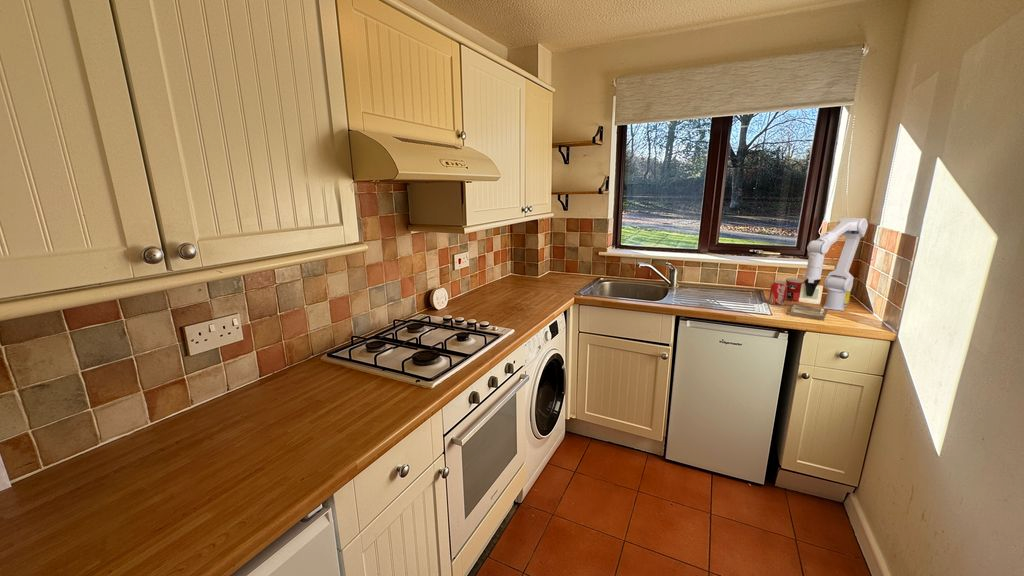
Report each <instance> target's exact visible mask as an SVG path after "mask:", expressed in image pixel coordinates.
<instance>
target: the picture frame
mask: <svg viewBox="0 0 1024 576" xmlns="http://www.w3.org/2000/svg"><path fill="white" fill-rule="evenodd" d="M823 288H824V286H823V285H819V284H818V285H817V287H816V289H815V291H814V294H813V296H812V297H811V296H807V294H806V286H805V283H804V284H802V285H801V291H800V297H799V302H800V303H805V304H807V303H808V304H813V305H814V304H815V305H821V301H822V294H823V290H824V289H823ZM799 302H798V303H799Z"/></svg>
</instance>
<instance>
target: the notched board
mask: <svg viewBox="0 0 1024 576" xmlns="http://www.w3.org/2000/svg"><path fill="white" fill-rule="evenodd" d="M828 310H829V309H827V308H823V307H820V306H814V305H813V306H812V305H805V304H798V303H792V305H791V306H790V308H789V309H788V311H787V312H786V315H787V316H791V317H795V318H796V317H797V318H804V319H810V320H816V321H821V320H822V321H821V322H823V321H825V317H826V315H827V313H828Z"/></svg>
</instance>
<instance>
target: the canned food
mask: <svg viewBox="0 0 1024 576" xmlns="http://www.w3.org/2000/svg"><path fill="white" fill-rule="evenodd" d="M804 281H805V280H804V279H801V278H792V277H791V278H790V277H788V278H786V279H785V282H787V286H788V288H787V295H786V301H787V302H792V301H793V303H795V302H798V303H799V297H800V291H801V285H802V284H805V283H804Z"/></svg>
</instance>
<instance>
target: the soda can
mask: <svg viewBox="0 0 1024 576" xmlns="http://www.w3.org/2000/svg"><path fill="white" fill-rule="evenodd" d="M787 288H788V286H787V282H786V280H785V281H784V280H773V282H772V283H771V287H770V291H769V298H768V300H769V301H768V303H769V304H770V305H771V306H775V307H782V306H784V305H785V304H786V301H787V300H786V295H787Z"/></svg>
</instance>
